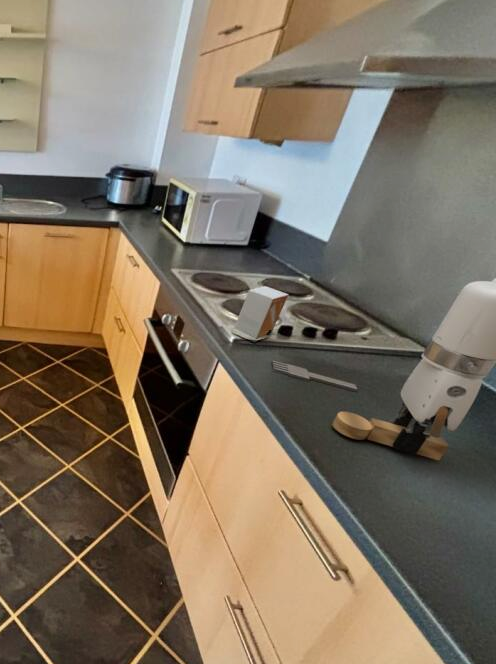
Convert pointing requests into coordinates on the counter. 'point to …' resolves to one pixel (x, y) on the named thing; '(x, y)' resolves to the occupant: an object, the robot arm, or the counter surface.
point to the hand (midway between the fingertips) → (400, 443)
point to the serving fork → (310, 375)
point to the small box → (260, 311)
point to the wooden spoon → (383, 433)
